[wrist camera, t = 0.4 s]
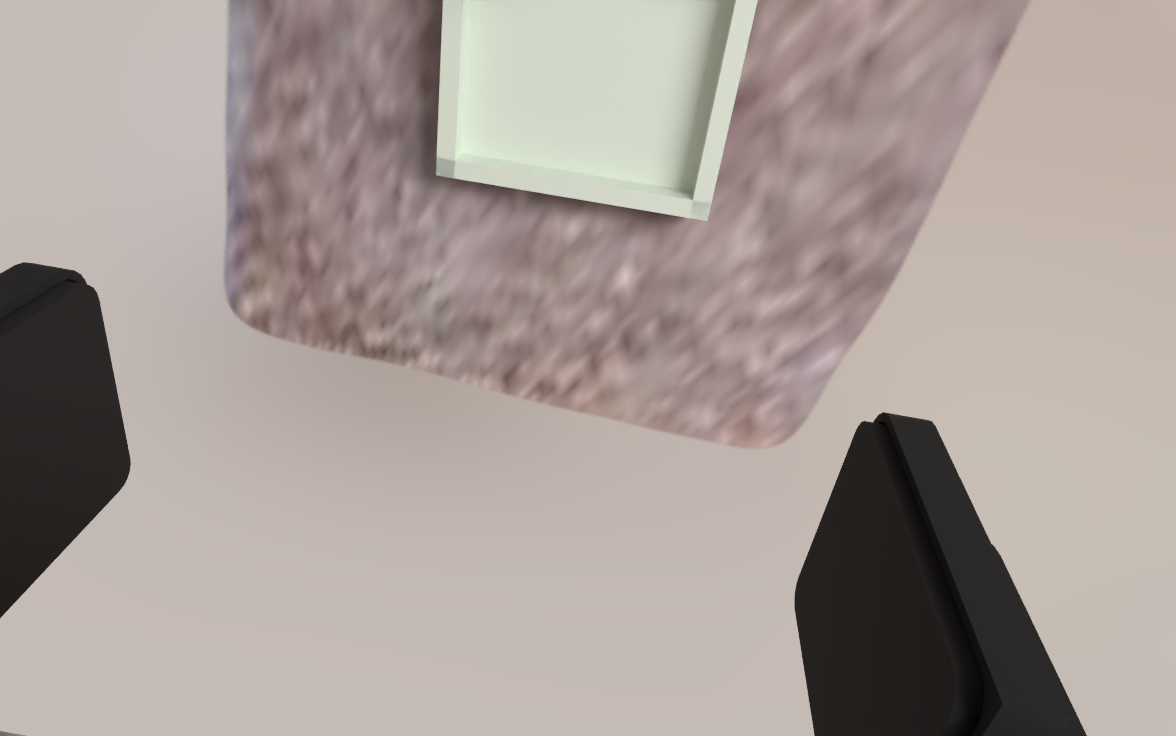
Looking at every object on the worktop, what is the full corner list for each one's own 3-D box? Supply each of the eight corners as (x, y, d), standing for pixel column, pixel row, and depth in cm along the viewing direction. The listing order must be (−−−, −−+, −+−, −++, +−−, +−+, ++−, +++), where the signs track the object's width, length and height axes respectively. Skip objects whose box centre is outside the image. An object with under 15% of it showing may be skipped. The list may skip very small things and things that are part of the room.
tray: (459, -87, 32) (446, -85, 30) (760, -37, 31) (765, -33, 30) (447, 161, 37) (436, 175, 35) (706, 205, 37) (707, 221, 35)
